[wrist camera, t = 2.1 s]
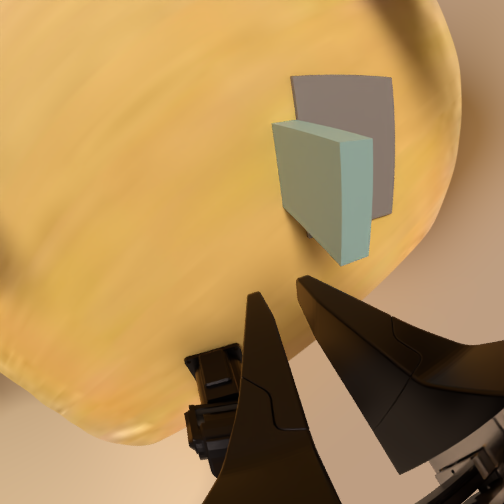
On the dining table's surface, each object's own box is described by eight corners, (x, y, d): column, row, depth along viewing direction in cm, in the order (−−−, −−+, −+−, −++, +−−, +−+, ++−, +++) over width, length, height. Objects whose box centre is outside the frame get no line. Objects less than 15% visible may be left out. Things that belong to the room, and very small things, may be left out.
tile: (304, 201, 23) (368, 256, 15) (282, 206, 22) (340, 266, 15) (296, 119, 19) (372, 138, 11) (271, 123, 18) (339, 142, 11)
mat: (389, 211, 26) (391, 213, 26) (307, 236, 25) (309, 238, 24) (388, 77, 18) (391, 77, 18) (290, 76, 17) (292, 76, 16)
